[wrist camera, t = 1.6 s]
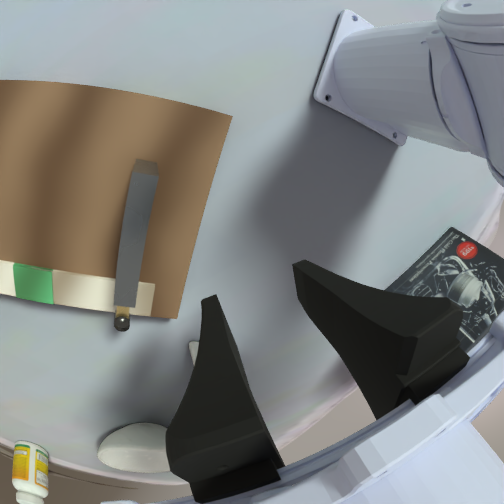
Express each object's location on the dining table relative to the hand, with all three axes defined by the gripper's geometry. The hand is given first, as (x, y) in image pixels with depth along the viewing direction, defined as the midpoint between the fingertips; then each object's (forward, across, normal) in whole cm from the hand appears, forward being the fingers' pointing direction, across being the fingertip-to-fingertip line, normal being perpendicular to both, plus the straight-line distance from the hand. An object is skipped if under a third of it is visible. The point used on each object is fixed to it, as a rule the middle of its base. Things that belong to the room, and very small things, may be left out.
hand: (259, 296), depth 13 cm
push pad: (+7, +6, -1) cm, 9 cm away
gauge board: (+8, +9, -6) cm, 13 cm away
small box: (+9, -21, +15) cm, 27 cm away
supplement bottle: (+9, +36, +21) cm, 42 cm away
